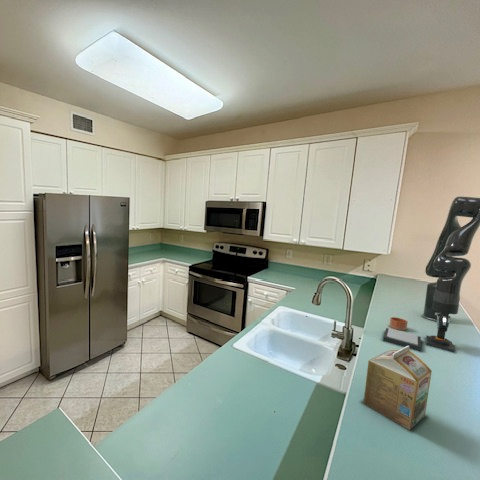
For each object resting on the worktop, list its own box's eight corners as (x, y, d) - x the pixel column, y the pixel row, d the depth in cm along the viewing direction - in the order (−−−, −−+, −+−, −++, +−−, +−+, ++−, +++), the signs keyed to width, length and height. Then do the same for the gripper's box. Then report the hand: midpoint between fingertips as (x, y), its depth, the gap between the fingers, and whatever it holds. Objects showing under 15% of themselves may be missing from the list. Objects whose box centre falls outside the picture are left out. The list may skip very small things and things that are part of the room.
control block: (426, 338, 119) (426, 332, 119) (451, 344, 113) (452, 338, 113) (426, 345, 112) (427, 339, 112) (453, 352, 106) (454, 346, 106)
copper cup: (389, 324, 134) (390, 316, 133) (406, 328, 129) (407, 320, 128) (388, 328, 129) (390, 319, 129) (406, 332, 125) (407, 323, 124)
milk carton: (409, 430, 67) (419, 364, 65) (363, 403, 76) (370, 344, 74) (424, 416, 72) (434, 354, 70) (379, 392, 81) (386, 337, 79)
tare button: (434, 339, 115) (435, 335, 115) (444, 341, 113) (444, 338, 112) (434, 341, 113) (435, 337, 112) (444, 344, 111) (445, 340, 110)
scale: (385, 331, 125) (386, 326, 125) (420, 340, 116) (420, 335, 116) (383, 341, 115) (383, 335, 115) (420, 351, 107) (421, 346, 106)
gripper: (461, 307, 103) (454, 346, 105) (457, 300, 112) (451, 336, 114) (434, 302, 109) (428, 340, 110) (432, 295, 118) (427, 330, 120)
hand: (440, 338), depth 112 cm, fingers closed
